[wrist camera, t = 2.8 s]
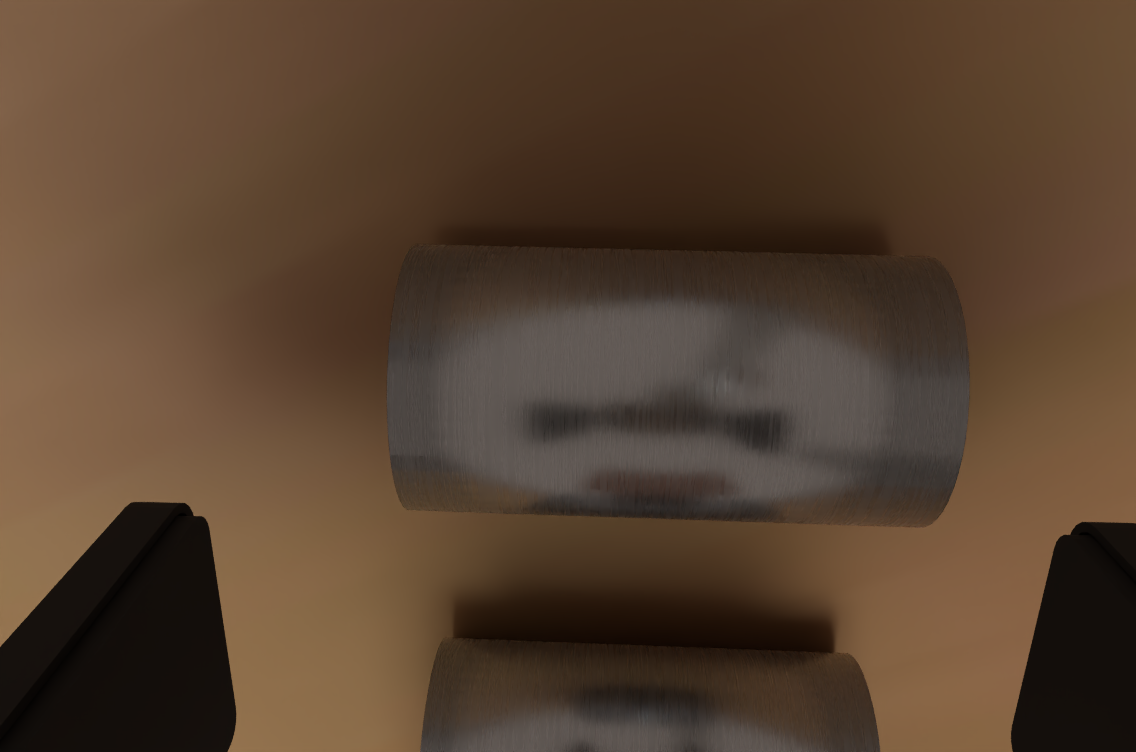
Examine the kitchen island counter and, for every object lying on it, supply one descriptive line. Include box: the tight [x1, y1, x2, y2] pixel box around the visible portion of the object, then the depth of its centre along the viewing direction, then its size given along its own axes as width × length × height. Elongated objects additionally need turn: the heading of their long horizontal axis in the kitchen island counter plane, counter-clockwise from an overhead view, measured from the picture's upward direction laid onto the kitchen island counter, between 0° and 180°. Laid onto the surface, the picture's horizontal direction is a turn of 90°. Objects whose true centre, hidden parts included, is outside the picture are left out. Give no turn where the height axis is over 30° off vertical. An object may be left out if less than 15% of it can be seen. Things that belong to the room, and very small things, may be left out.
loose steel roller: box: [387, 244, 969, 528], centre depth 14 cm, size 4×8×4 cm, turn 89°
